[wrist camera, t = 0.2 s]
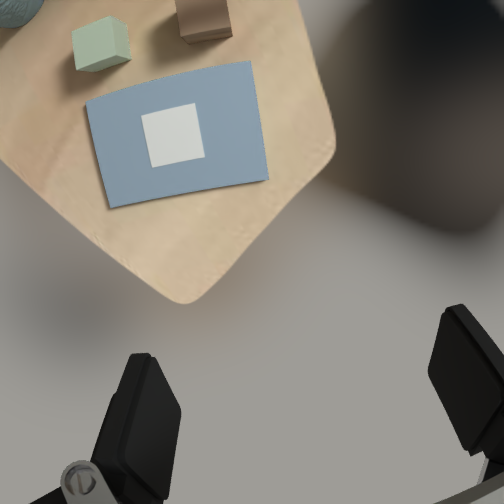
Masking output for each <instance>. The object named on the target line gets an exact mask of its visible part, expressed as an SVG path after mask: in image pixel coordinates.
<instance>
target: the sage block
mask: <svg viewBox="0 0 504 504" xmlns="http://www.w3.org/2000/svg"><path fill="white" fill-rule="evenodd" d="M71 33H72V42H73V50H74V58H75V65H76V70H79V71H89V72H97V71H100V70H103V69H105V68H108V67H111V66H114V65H117V64H120V63H123V62H126V61H129V60H132V58H131V52H130V45H129V38H128V31H127V24H126V23H124V22H122V21H120V20H119V19H117V18H115V17H113V16H108V17H105V18H103V19H100V20H98V21H95V22H93V23H90V24H88V25H85V26H83V27H81V28H79V29H76V30H74V31H72V32H71Z"/></svg>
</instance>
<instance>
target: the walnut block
mask: <svg viewBox="0 0 504 504" xmlns="http://www.w3.org/2000/svg"><path fill="white" fill-rule="evenodd" d="M175 4H176V11H177V17H178V23H179V30H180V36H181V37H182V38H183V39H184V40H185V41H186V42H187V43H188V44H193V43H198V42H203V41H208V40H213V39H219V38H224V37H230V36H233V35H232V29H231V24H230V18H229V12H228V7H227V1H226V0H175Z"/></svg>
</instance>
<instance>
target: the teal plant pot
mask: <svg viewBox="0 0 504 504" xmlns="http://www.w3.org/2000/svg"><path fill="white" fill-rule="evenodd" d="M43 2H44V0H0V27H4V28H16V27H20V26H22V25H24V24H26V23H27V22H29V21H30V20H31V19H32V18H33V17H34V16H35V15H36V13H37V12H38V11H39V9H40V8H41V6H42V4H43Z"/></svg>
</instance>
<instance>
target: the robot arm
mask: <svg viewBox="0 0 504 504" xmlns="http://www.w3.org/2000/svg"><path fill="white" fill-rule="evenodd" d="M428 376H429V378H430V380H431V382H432V384H433V386H434V388H435V390H436V392H437V394H438V396H439V398H440V400H441V402H442V404H443V406H444V408H445V410H446V412H447V414H448V416H449V419H450V421H451V423H452V425H453V427H454V429H455V432H456V434H457V436H458V438H459V440H460V443H461V445H462V447H463V448H464V450H466V451H468V452H469V454H470V456H473V455H475V454H477V453H479V452H481V451H483V452H484V454H485V456H486V457H485V461H484V464H483V467H482V470H481V474H480V476H479V479H478V482H477V485H476V486H474V487H472V488H470V489H467V490H465V491H463V492H461V493H459V494H456V495H454V496H452V497H449V498H447V499H444V500H442V501H440V502H437V503H434V504H504V355H503V354H502V352H501V351H500V349H499V348H498V347H497V345H496V344H495V343H494V342H493V340H492V339H491V338H490V336H489V335H488V334H487V332H486V331H485V330H484V329H483V327H482V326H481V325H480V324H479V322H478V321H477V320H476V319H475V317H474V316H473V315H472V314H471V312H470V311H469V310H468V309H467V308H466V307H465V306H464V305H463V304H458V305H454V306H450V307H447V308H446V309H445V312H444V313H442V315H441V319H440V324H439V328H438V332H437V336H436V340H435V344H434V348H433V352H432V355H431V359H430V363H429V366H428ZM180 420H181V408H180V406H179V404H178V402H177V400H176V398H175V396H174V394H173V392H172V390H171V388H170V386H169V384H168V382H167V380H166V378H165V376H164V374H163V372H162V370H161V368H160V366H159V364H158V362H157V360H156V358H155V357H151V355H150V354H149V353H136V354H131V356H130V357H129V359H128V362H127V365H126V367H125V370H124V373H123V375H122V378H121V381H120V383H119V386H118V389H117V391H116V393H115V394H113V396H112V398H111V401H110V404H109V406H108V409H107V412H106V415H105V418H104V421H103V424H102V426H101V429H100V432H99V436H98V438H97V442H96V444H95V448H94V451H93V454H92V457H91V460H90V462H89V461H85V460H81V461H76V462H73V463H71V464H70V465H68V466H67V467H66V469H65V470H64V471H63V473H62V476H61V481H60V484H61V486H60V487H59V488H57V489H55V490H54V491H52V492H50V493H48V494H46V495H44V496H43V497H41V498H39V499H37V500H35V501H34V502H32V503H30V504H163V501H164V500H167V499H168V497H169V491H170V483H171V477H172V470H173V464H174V457H175V450H176V444H177V438H178V432H179V426H180Z"/></svg>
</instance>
